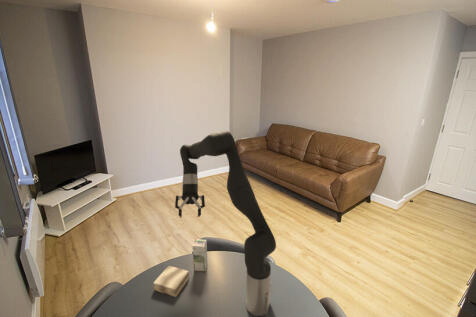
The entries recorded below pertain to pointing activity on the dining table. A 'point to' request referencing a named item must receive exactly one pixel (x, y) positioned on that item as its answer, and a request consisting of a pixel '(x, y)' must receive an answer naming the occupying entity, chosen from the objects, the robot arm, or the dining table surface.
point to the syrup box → (200, 255)
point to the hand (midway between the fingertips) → (189, 217)
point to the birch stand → (171, 281)
